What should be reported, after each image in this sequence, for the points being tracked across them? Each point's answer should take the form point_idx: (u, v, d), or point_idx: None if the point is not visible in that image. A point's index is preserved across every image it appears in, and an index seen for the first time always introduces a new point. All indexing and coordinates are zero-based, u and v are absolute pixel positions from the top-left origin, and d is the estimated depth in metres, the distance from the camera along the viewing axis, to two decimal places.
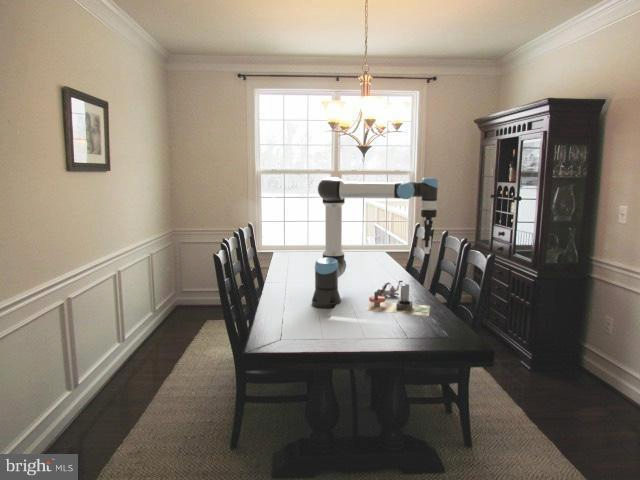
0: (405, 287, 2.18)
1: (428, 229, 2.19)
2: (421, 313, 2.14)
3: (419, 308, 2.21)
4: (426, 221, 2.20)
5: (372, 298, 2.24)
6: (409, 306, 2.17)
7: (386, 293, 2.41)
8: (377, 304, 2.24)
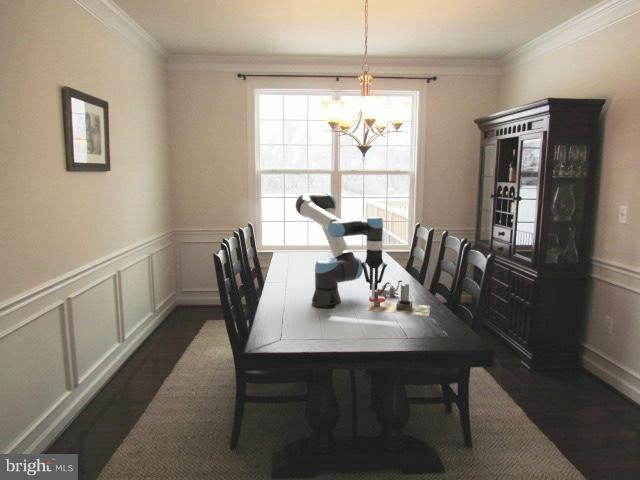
0: (405, 287, 2.18)
1: None
2: (421, 313, 2.14)
3: (419, 308, 2.21)
4: None
5: (372, 298, 2.24)
6: (409, 306, 2.17)
7: (386, 293, 2.41)
8: (377, 304, 2.24)
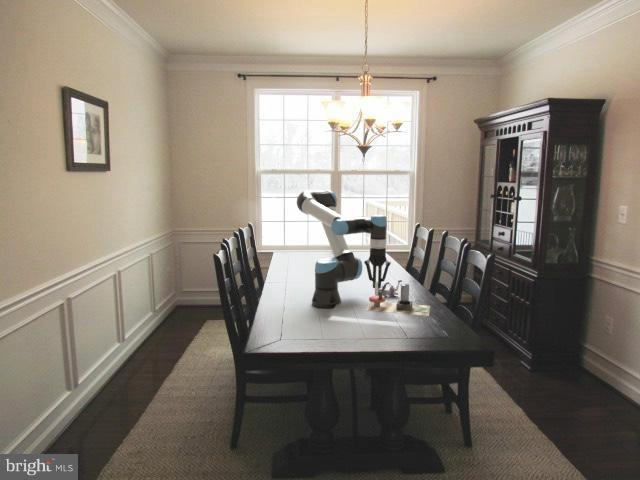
0: (405, 287, 2.18)
1: None
2: (421, 313, 2.14)
3: (419, 308, 2.21)
4: None
5: (374, 299, 2.23)
6: (409, 306, 2.17)
7: (386, 293, 2.41)
8: (379, 304, 2.24)
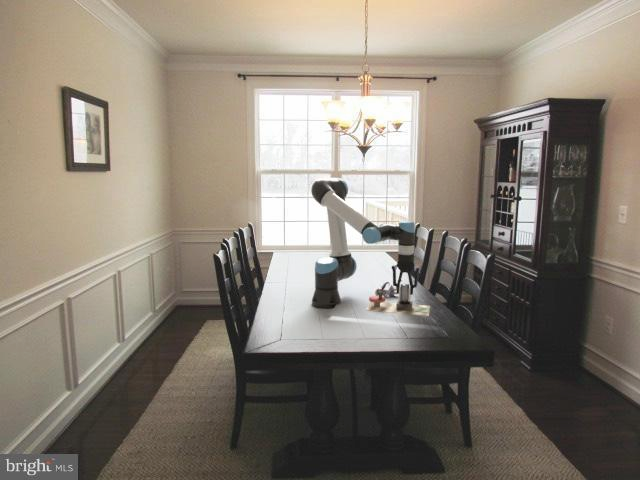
0: (405, 287, 2.18)
1: None
2: (421, 313, 2.14)
3: (419, 308, 2.21)
4: None
5: (374, 299, 2.23)
6: (409, 306, 2.17)
7: (385, 292, 2.42)
8: (379, 304, 2.24)
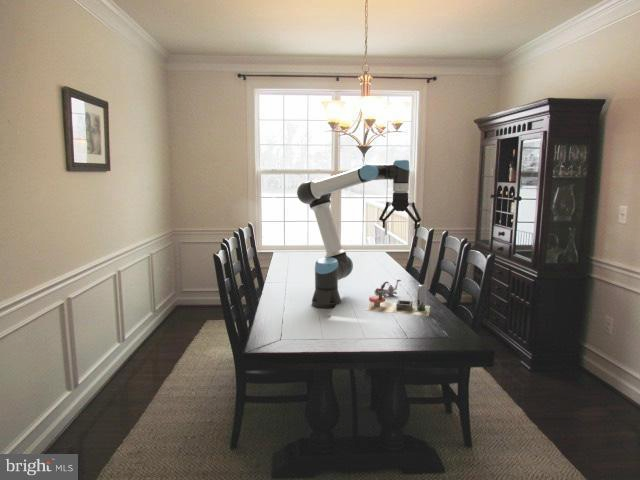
0: (422, 288, 2.16)
1: None
2: (421, 313, 2.14)
3: None
4: None
5: (374, 299, 2.23)
6: (409, 306, 2.17)
7: (384, 292, 2.43)
8: (379, 304, 2.24)
